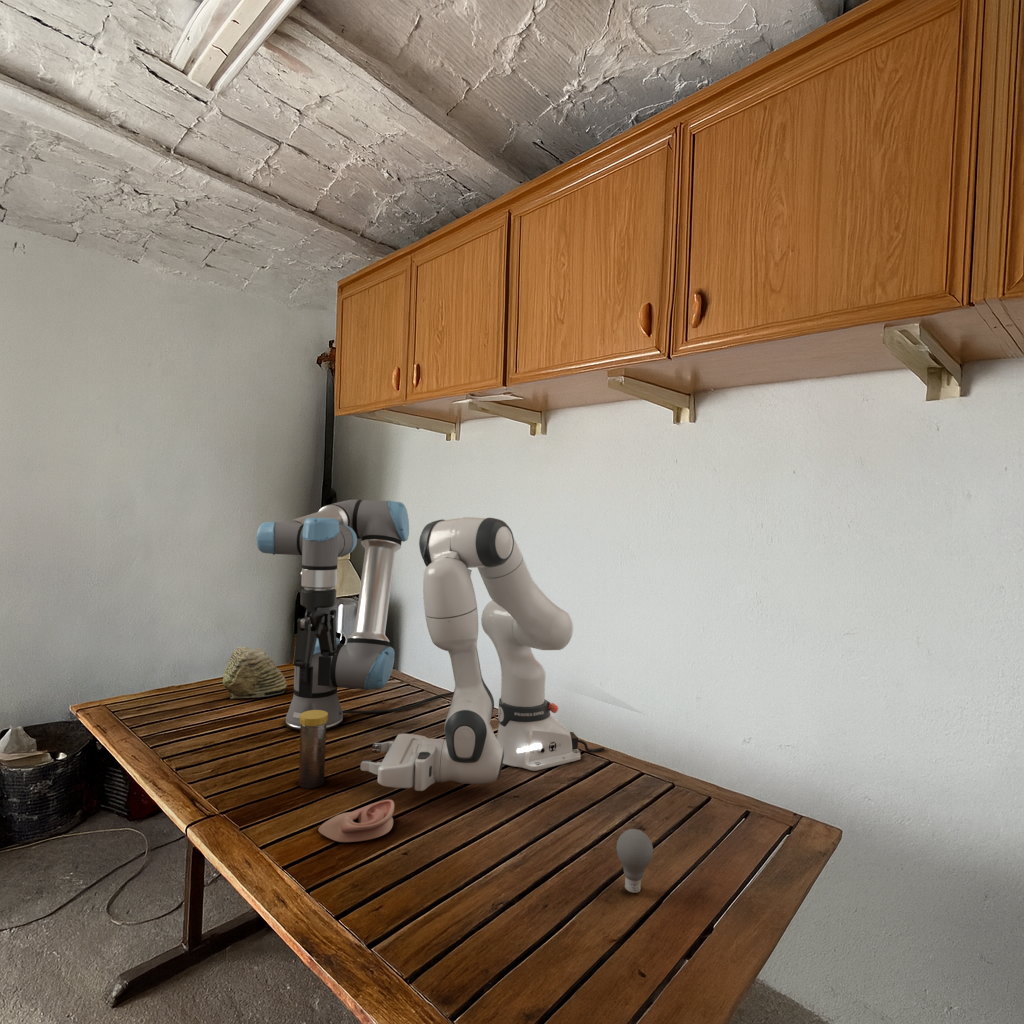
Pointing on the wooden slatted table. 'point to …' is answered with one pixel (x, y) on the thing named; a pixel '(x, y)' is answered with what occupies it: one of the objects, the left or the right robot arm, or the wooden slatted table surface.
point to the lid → (313, 718)
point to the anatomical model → (360, 823)
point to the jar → (312, 756)
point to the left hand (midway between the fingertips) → (314, 690)
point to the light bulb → (634, 857)
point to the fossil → (252, 674)
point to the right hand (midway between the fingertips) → (367, 756)
